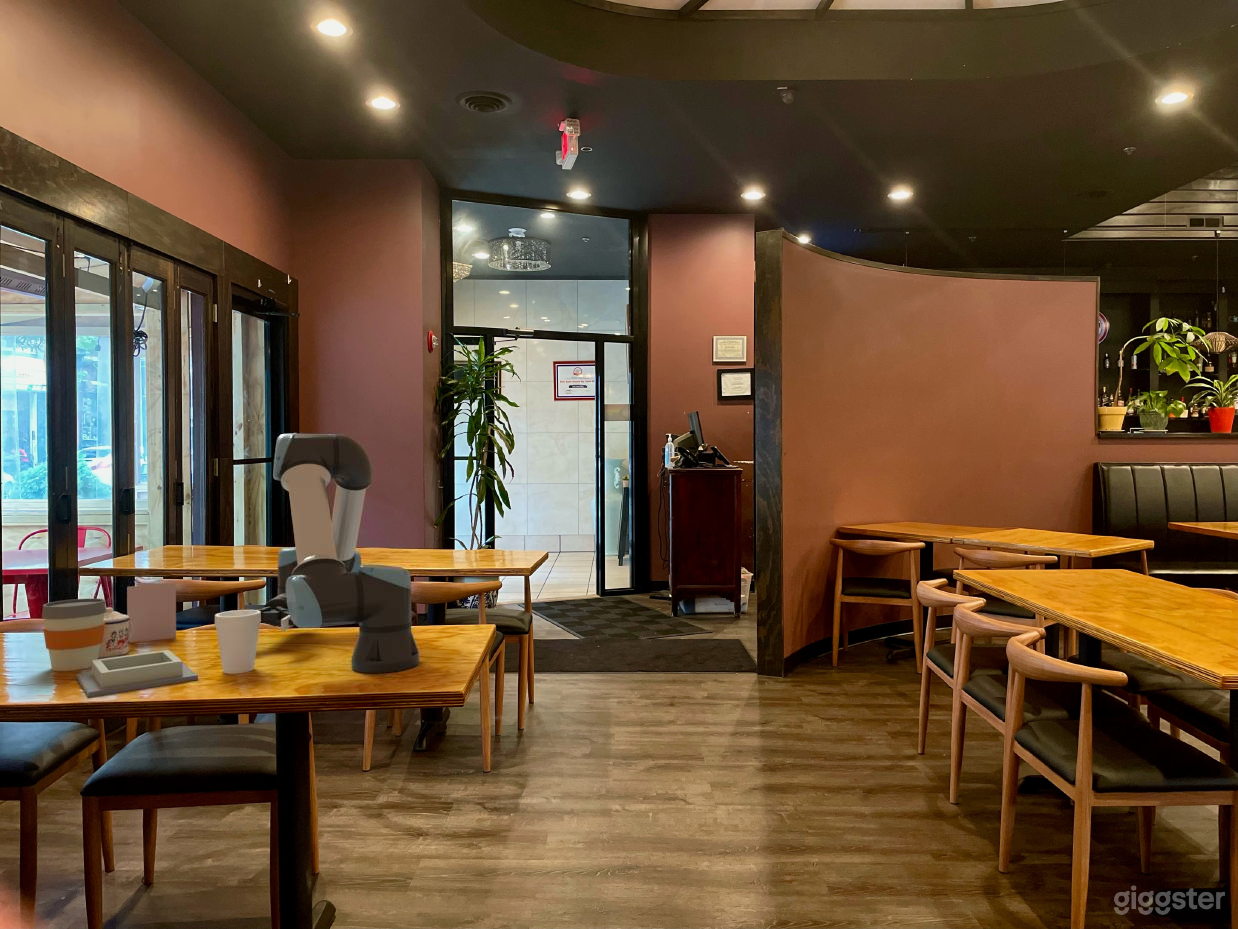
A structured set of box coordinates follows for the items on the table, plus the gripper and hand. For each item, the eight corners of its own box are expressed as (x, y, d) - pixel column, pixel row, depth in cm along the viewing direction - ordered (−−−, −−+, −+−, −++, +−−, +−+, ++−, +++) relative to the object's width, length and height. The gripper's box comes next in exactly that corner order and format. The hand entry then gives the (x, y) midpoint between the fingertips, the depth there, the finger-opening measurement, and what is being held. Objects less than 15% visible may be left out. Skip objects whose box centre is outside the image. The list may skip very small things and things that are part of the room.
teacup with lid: (109, 659, 193) (109, 611, 193) (77, 658, 194) (77, 610, 194) (147, 648, 205) (146, 603, 205) (116, 647, 206) (116, 602, 206)
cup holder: (198, 679, 172) (197, 661, 172) (88, 697, 159) (88, 677, 159) (178, 663, 188) (178, 646, 188) (76, 678, 175) (76, 660, 175)
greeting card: (178, 637, 218) (177, 583, 218) (159, 643, 211) (158, 587, 211) (140, 636, 220) (140, 582, 220) (120, 642, 212) (120, 586, 212)
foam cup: (243, 676, 175) (242, 617, 175) (206, 674, 177) (205, 616, 177) (269, 665, 184) (269, 610, 184) (233, 664, 186) (233, 609, 186)
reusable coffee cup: (101, 657, 195) (100, 596, 195) (111, 666, 186) (111, 602, 186) (38, 666, 186) (38, 602, 187) (46, 676, 177) (45, 609, 177)
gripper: (329, 622, 213) (306, 640, 192) (232, 625, 210) (199, 643, 189) (329, 595, 213) (306, 609, 192) (232, 597, 210) (198, 612, 189)
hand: (253, 626), depth 190 cm, fingers open, 13 cm apart
